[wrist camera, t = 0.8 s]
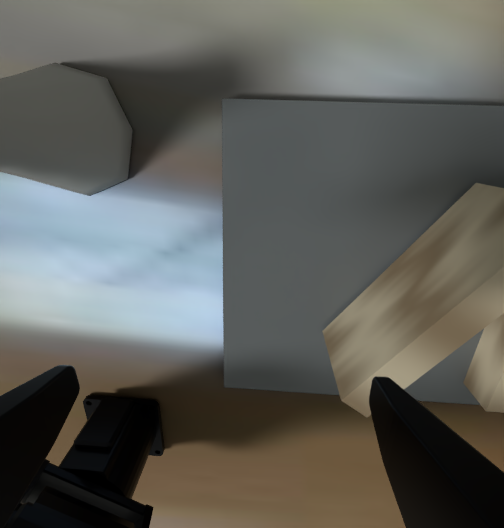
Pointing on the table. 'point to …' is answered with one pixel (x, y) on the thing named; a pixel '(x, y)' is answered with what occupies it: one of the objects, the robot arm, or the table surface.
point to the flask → (63, 129)
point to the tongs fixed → (488, 368)
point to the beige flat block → (424, 300)
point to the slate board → (335, 224)
